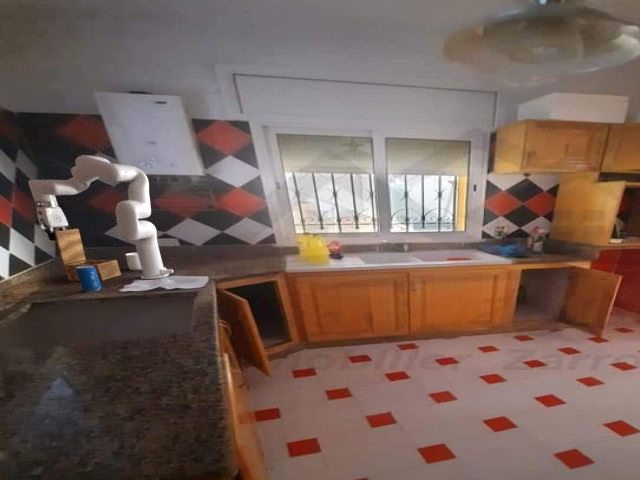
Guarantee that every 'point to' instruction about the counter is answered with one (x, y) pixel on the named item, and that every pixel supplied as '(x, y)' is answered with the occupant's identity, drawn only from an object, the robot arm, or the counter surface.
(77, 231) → the lid
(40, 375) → the counter surface
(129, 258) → the cup
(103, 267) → the chest
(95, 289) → the beverage can
